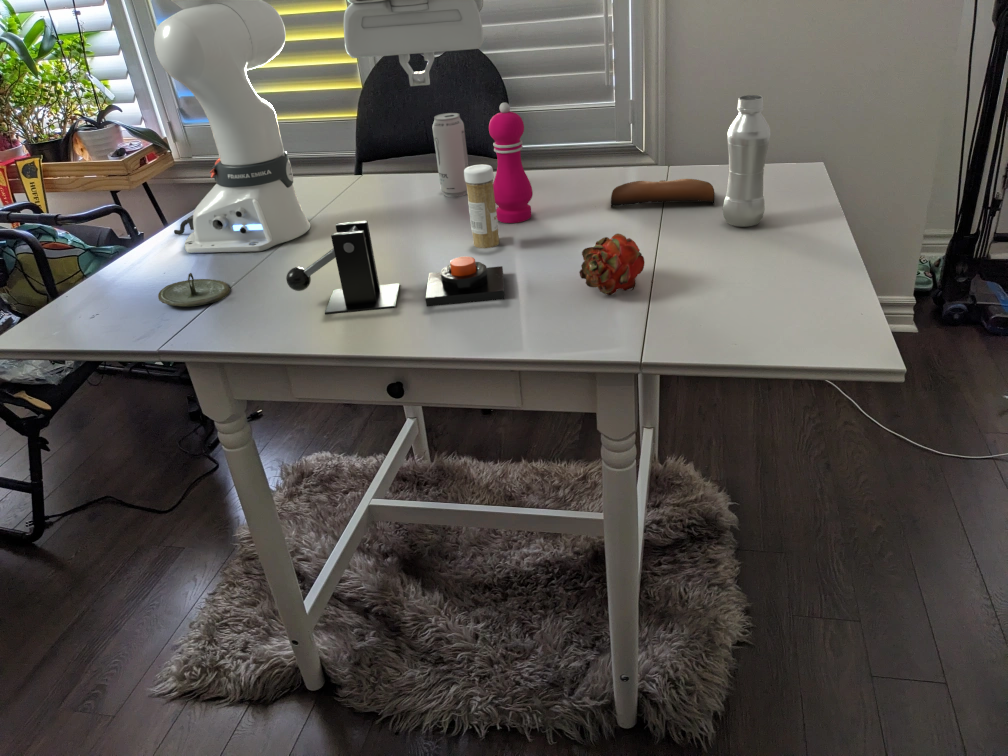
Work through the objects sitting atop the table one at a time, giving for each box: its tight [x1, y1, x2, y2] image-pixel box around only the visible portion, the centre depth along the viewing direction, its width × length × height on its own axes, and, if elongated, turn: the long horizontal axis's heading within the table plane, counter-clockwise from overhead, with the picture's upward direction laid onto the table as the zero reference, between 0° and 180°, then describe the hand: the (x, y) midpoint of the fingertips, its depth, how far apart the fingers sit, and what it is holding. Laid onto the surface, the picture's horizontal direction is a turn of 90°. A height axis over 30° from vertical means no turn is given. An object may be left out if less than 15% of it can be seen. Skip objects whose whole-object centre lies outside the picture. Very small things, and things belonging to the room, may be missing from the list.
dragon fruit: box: [578, 233, 645, 296], centre depth 112 cm, size 8×8×12 cm
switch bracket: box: [324, 220, 401, 315], centre depth 114 cm, size 10×8×12 cm
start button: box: [449, 255, 476, 276], centre depth 114 cm, size 4×4×2 cm
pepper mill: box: [488, 102, 534, 224], centre depth 139 cm, size 7×7×20 cm
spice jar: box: [464, 163, 500, 249], centre depth 129 cm, size 5×5×14 cm
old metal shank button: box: [157, 272, 231, 307], centre depth 123 cm, size 11×10×5 cm
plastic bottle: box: [722, 94, 772, 228], centre depth 126 cm, size 6×7×20 cm
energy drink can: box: [431, 112, 470, 198], centre depth 156 cm, size 6×6×15 cm
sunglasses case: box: [610, 178, 716, 209], centre depth 143 cm, size 18×7×7 cm, turn 81°
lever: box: [285, 226, 366, 292], centre depth 113 cm, size 13×3×3 cm, turn 91°
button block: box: [424, 261, 505, 308], centre depth 116 cm, size 11×9×4 cm
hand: (420, 84), depth 121 cm, fingers closed
